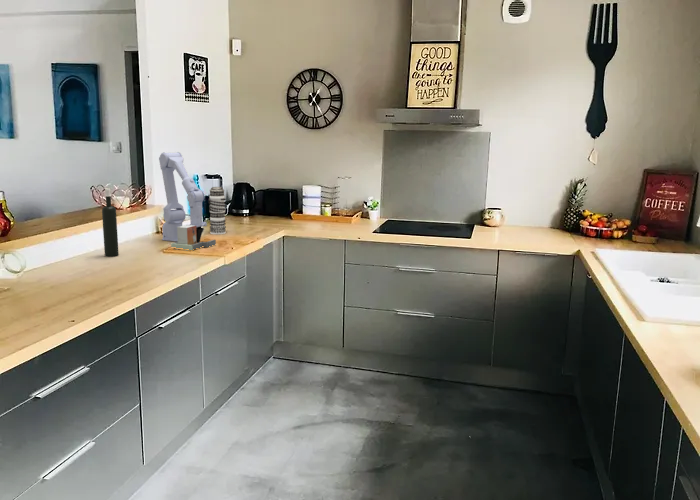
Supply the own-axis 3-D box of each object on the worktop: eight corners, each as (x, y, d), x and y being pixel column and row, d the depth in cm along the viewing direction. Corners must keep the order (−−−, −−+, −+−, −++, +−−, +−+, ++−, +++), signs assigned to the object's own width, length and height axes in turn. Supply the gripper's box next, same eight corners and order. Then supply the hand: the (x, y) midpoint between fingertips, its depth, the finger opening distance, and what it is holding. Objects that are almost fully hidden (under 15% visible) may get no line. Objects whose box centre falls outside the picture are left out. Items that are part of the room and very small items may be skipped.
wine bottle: (105, 257, 260) (101, 189, 254) (104, 254, 265) (99, 187, 259) (119, 256, 263) (115, 189, 257) (117, 253, 268) (113, 187, 262)
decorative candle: (222, 230, 329) (221, 186, 324) (229, 233, 322) (228, 187, 317) (206, 232, 324) (205, 186, 319) (212, 235, 317) (211, 188, 312)
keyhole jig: (166, 248, 282) (166, 243, 281) (187, 241, 297) (187, 237, 297) (196, 251, 277) (196, 246, 276) (215, 244, 292) (215, 239, 292)
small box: (187, 249, 280) (186, 227, 278) (177, 248, 282) (176, 226, 280) (197, 246, 287) (196, 225, 285) (187, 245, 289) (186, 224, 287)
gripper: (194, 218, 280) (195, 246, 283) (211, 213, 294) (212, 240, 297) (182, 216, 283) (183, 244, 286) (199, 212, 296) (200, 239, 299)
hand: (197, 242), depth 291 cm, fingers closed
